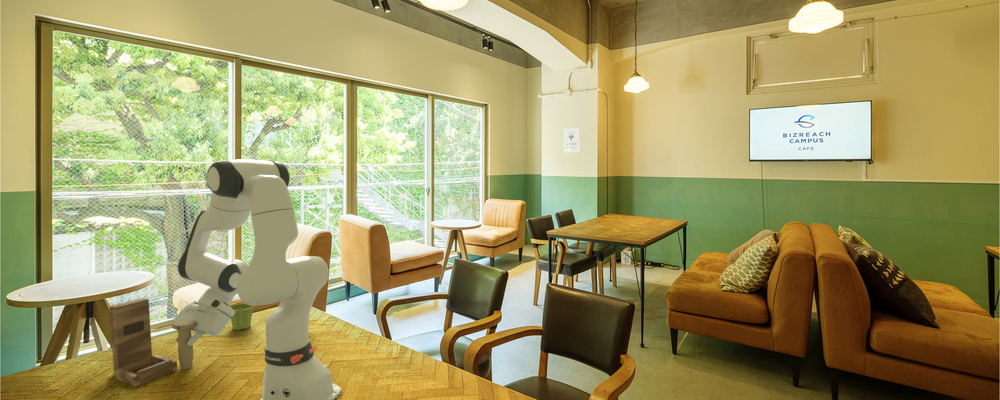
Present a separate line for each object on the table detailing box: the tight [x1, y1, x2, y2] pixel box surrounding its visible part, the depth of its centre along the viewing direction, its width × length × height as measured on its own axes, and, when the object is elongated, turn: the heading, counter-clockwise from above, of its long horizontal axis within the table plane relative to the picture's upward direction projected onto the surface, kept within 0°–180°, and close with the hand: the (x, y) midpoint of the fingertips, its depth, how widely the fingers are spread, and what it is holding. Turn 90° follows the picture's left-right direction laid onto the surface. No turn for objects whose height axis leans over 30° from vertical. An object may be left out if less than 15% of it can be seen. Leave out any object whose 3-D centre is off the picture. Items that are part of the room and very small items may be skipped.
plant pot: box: [229, 302, 256, 331], centre depth 173 cm, size 9×9×9 cm
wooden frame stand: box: [108, 297, 178, 388], centre depth 135 cm, size 14×11×22 cm
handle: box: [171, 320, 196, 370], centre depth 139 cm, size 5×6×15 cm
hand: (183, 343), depth 138 cm, fingers closed on handle, 3 cm apart
